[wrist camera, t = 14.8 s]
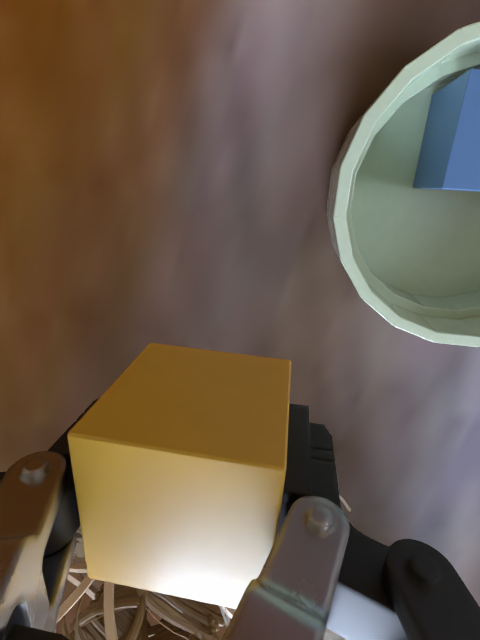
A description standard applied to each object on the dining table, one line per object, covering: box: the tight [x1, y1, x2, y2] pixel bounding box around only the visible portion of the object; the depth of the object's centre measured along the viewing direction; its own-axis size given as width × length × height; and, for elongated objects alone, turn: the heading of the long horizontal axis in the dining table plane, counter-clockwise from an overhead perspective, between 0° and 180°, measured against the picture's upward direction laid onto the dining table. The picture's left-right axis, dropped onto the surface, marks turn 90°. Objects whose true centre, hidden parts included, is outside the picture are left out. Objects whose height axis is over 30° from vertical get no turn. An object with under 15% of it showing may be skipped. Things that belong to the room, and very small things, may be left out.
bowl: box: [326, 21, 480, 347], centre depth 18 cm, size 14×14×6 cm
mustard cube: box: [67, 343, 291, 609], centre depth 10 cm, size 5×5×5 cm
